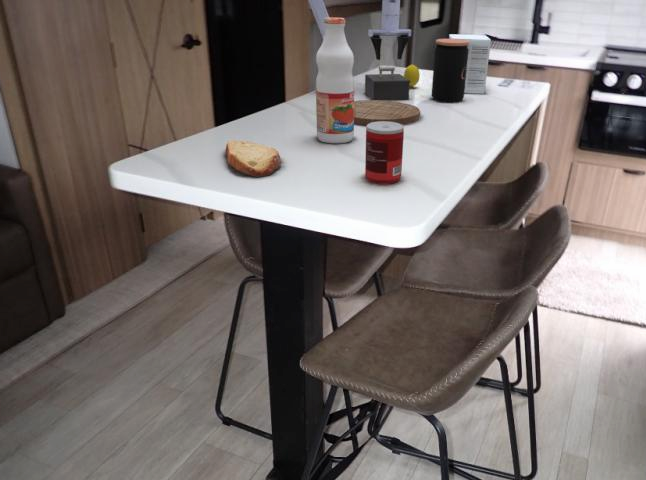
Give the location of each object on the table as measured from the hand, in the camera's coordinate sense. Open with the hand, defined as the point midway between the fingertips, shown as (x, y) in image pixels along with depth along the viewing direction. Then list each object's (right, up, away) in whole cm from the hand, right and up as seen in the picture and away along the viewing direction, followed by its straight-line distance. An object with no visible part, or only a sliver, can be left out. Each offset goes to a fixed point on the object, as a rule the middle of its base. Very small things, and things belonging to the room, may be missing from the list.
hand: (388, 59), depth 202 cm
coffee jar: (+19, -16, -5) cm, 25 cm away
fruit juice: (-15, -41, -50) cm, 67 cm away
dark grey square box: (-1, -14, -4) cm, 14 cm away
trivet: (-4, -28, -28) cm, 39 cm away
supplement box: (+27, -7, +10) cm, 30 cm away
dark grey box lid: (-1, -9, -6) cm, 11 cm away
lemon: (+8, -6, +11) cm, 15 cm away
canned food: (-4, -56, -76) cm, 95 cm away
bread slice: (-34, -51, -69) cm, 92 cm away
